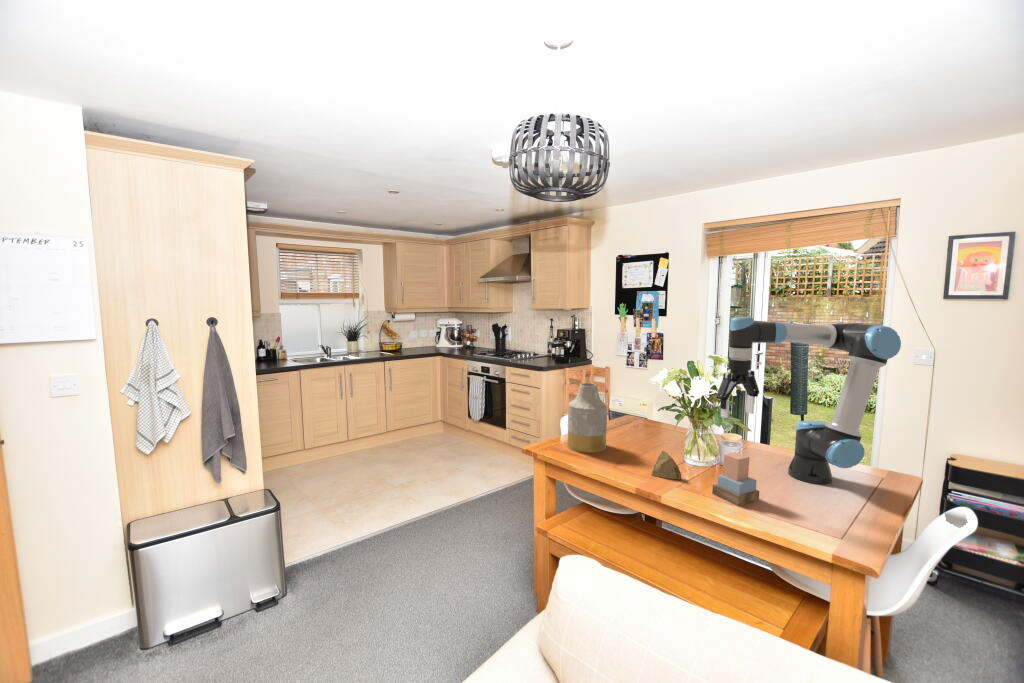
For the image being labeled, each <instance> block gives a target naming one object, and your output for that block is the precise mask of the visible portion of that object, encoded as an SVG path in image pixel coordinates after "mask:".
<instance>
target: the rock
mask: <svg viewBox="0 0 1024 683" xmlns="http://www.w3.org/2000/svg"><path fill="white" fill-rule="evenodd" d="M650 476H653V477H658V478H663V479H670V480H682V473H681V471H680V467H679V466H678V464H677V463H676V461H675V460H674V458H672V457H671V455H669V453H668V452H667V451H665V450H661V453H660V454H659V456H658V458H657V460H656V461H655V464H654V466H653V469H652V472H651V475H650Z"/></svg>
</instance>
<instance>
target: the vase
mask: <svg viewBox="0 0 1024 683" xmlns="http://www.w3.org/2000/svg"><path fill="white" fill-rule="evenodd" d="M598 389H599V388H598V384H596V383H592V382H585V383H583V382H582V383H579V387H578V391H577V395H576V396H575V398H574V399H573V400H571V401H570V402H568V407H567V408H568V410H567V411H568V412H567V414H568V415H567V416H568V417H567V418H568V419H567V448H568V449H569V450H571V451H574V452H576V453H577V452H578V453H583V454H596V453H602V452H604V451H605V450H606V449H607V430H608V428H607V425H608V404H607V403H605V402H603V400H602V399H601V397H600V395H599V390H598Z"/></svg>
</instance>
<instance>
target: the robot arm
mask: <svg viewBox="0 0 1024 683" xmlns="http://www.w3.org/2000/svg"><path fill="white" fill-rule="evenodd" d="M728 343H729V348H728V349H729V350H728V357H729V359H728V363H727V364H728V366H727V367H728V369H729V370H730V372H729V373H728V372H724V373H723V376H722V380H721V383H720V386H719V388H718V391H717V393H716V396H715V397H716V399H718V400H720V417H721V418H724V419H729V410H730V409H729V407H730V400H729V397H730V396H731V394H732V393H733V391H734V389H735V387H737V386H738V385H739V386H740V385H742V386H743V388H744V390H745V391H746V393H747V394H748V395H746V400H745V413H747V414H751V415H753V414H754V409H755V401H756V400H755V398H758V396H759V394H760V391H759V386H758V383H757V380H756V376H755V371H754V370H751V369H752V358H753V357H752V356H753V352H752V351H753V350H752V349H753V344H754V343H755V344H756V343H758V344H760V343H761V344H765V343H767V344H769V343H770V344H771V343H772V344H776V343H778V344H779V343H794V344H807V345H808V344H809V345H819V346H820V345H821V346H822V347H823V348H827V349H833V350H834V349H835V350H839V351H842V352H847V353H848V354H847V358H848V359H849V360H850V364H849V367H848V371H847V374H846V376H845V380H844V382H843V385H842V389H841V391H840V394H839V397H838V400H837V403H836V406H835V410H834V413H833V416H832V419H831V421H830V422H825V421H824V422H823V421H817V420H800V421H798V422H797V424H796V428H795V431H796V432H795V443H794V445H795V446H794V454H793V455H794V456H793V458H792V459H791V462H790V464H789V466H788V470H787V473H788V475H789V476H790V477H792V478H794V479H795V480H800V481H802V482H806V483H810V484H818V485H819V484H821V485H826V484H831V483H832V481H833V475H832V472H831V467H830V465H832V466H835V467H838V468H840V469H851V468H853V467H854V466H857V465H859V463H860V462H862V460H863V459H864V456H865V448H864V446H863V444H862V443H861V439H862V436H863V435H862V434H861V432H860V430H859V429H860V427H861V423H862V421H863V419H864V414H865V411H866V409H867V406H868V403H869V400H870V396H871V394H872V391H873V388H874V384H875V382H876V379H877V377H878V374H879V370H880V369H881V368H882V367H885V366H886V365H887V362H888V360H890V359H892V358H894V356H897V355H898V353H899V352H900V351H901V347H902V340H901V337H900V335H898V332H897V331H896V330H895V329H893V328H892V327H890V326H887V325H886V326H885V325H881V324H869V323H856V322H854V323H850V322H849V323H826V324H824V325H820V324H819V325H817V324H805V323H793V322H792V323H791V322H781V321H780V322H779V321H765V320H763V321H762V320H754V318H753V317H750V316H734V317H732V318H731V319H730V326H729V342H728Z"/></svg>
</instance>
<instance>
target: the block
mask: <svg viewBox="0 0 1024 683" xmlns="http://www.w3.org/2000/svg"><path fill="white" fill-rule="evenodd" d="M722 464H723V466H722V474H723V476H726V477H728V478H731V479H733V480H735V481H739V480H743V479H747V478H748V477H749V470H750V469H749V468H750V456H747V455H745V454H743V453H739V452H736V451H733V452H728V453H725V454H723V461H722Z"/></svg>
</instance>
